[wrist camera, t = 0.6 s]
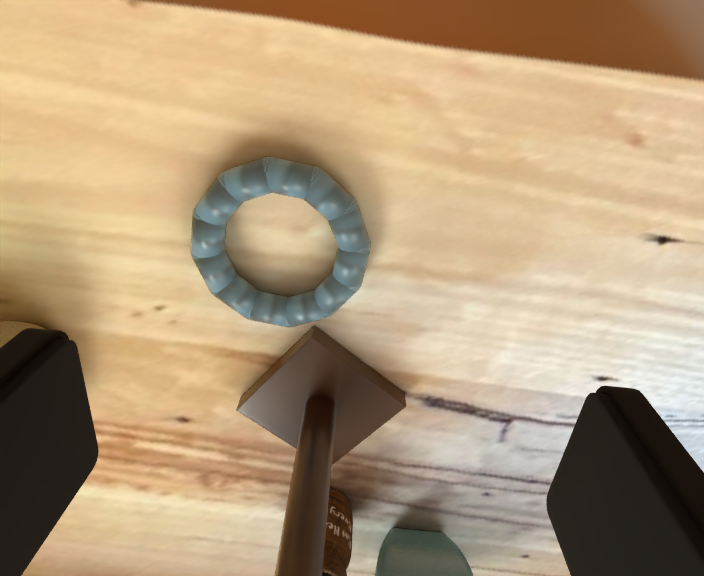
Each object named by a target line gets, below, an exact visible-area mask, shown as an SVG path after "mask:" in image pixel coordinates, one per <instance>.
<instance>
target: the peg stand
mask: <svg viewBox="0 0 704 576" xmlns="http://www.w3.org/2000/svg"><path fill="white" fill-rule="evenodd" d="M405 407H406V400H405V393H404V392H403V391H401V390H400V389H399V388H397V387H396V386H395V385H393V384H392V383H391V382H389V381H388V380H387V379H385V378H384V377H383V376H381V375H380V374H379V373H377V372H376V371H375V370H373V369H372V368H370V367H369V366H368V365H366V364H365V363H364V362H362V361H361V360H360V359H358V358H357V357H356V356H354V355H353V354H352V353H350V352H349V351H348V350H346V349H345V348H344V347H342V346H341V345H340V344H338V343H337V342H336V341H334V340H333V339H332V338H330V337H329V336H328V335H326V334H325V333H324V332H322V331H321V330H320V329H318V328H317V327H316V326H313V327H312V328H311V329H310V330H309V331H308V332H307V333H306V334H305V335H304V336H303V337H302V338H301V339H300V340H299V341H298V342H297V343H296V344H295V345H294V346H293V347H292V348H291V349H290V350H289V351H288V352H287V353H286V354H284V355H283V356H282V357H281V358H280V359H279V360H278V361H277V362H276V363H275V364H274V365H273V366H272V367H271V368H270V369H269V370H268V371H267V372H266V373H265V374H264V375H263V376H262V377H261V378H260V379H259V380H258V381H257V382H256V383H255V384H254V385H253V386H252V387H251V388H250V389H249V390H248V391H247V392H246V393H245V394H244V395H243V396H242V397H241V398H240V401H239V404H238V407H237V411H238V412H240V413H241V414H243V415H245V416H246V417H248V418H249V419H251V420H252V421H254V422H256V423H257V424H259V425H260V426H262V427H263V428H265V429H266V430H268V431H270V432H271V433H273V434H274V435H276V436H277V437H279V438H281V439H282V440H284V441H285V442H287V443H288V444H290V445H291V446H293V447H295V448H296V449H297V451H296V456H295V462H294V468H293V474H292V479H291V485H290V491H289V496H288V502H287V508H286V513H285V519H284V525H283V530H282V536H281V542H280V548H279V553H278V559H277V565H276V570H275V576H322V570H323V559H324V547H325V536H326V524H327V513H328V501H329V490H330V478H331V467H332V464H334V463H335V462H336V461H338V460H339V459H340V458H341V457H343V456H344V455H345V454H346V453H348V452H349V451H350V450H351V449H353V448H354V447H355V446H357V445H358V444H359V443H360V442H362V441H363V440H364V439H365V438H367V437H368V436H369V435H371V434H372V433H373V432H374V431H376V430H377V429H378V428H379V427H381V426H382V425H383V424H384V423H386V422H387V421H388V420H390V419H391V418H392V417H393V416H395V415H396V414H397V413H398V412H400V411H401V410H402V409H404V408H405Z"/></svg>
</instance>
